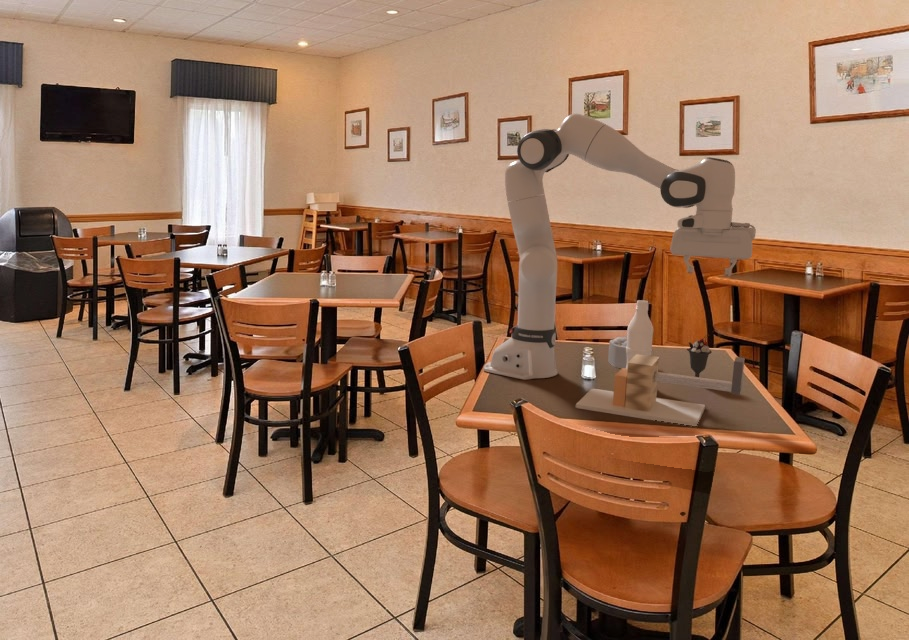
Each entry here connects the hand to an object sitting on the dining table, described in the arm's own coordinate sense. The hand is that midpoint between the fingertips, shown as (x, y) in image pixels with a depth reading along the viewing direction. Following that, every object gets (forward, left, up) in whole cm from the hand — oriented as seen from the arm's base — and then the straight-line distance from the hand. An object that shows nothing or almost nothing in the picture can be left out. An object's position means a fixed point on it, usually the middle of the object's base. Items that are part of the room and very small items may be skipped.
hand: (708, 274), depth 188 cm
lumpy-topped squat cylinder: (-25, +25, -34) cm, 49 cm away
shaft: (0, -17, -26) cm, 31 cm away
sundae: (-2, +14, -34) cm, 37 cm away
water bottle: (-17, +2, -34) cm, 38 cm away
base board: (-12, -17, -34) cm, 40 cm away
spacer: (-17, -17, -33) cm, 41 cm away
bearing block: (-12, -17, -33) cm, 39 cm away
